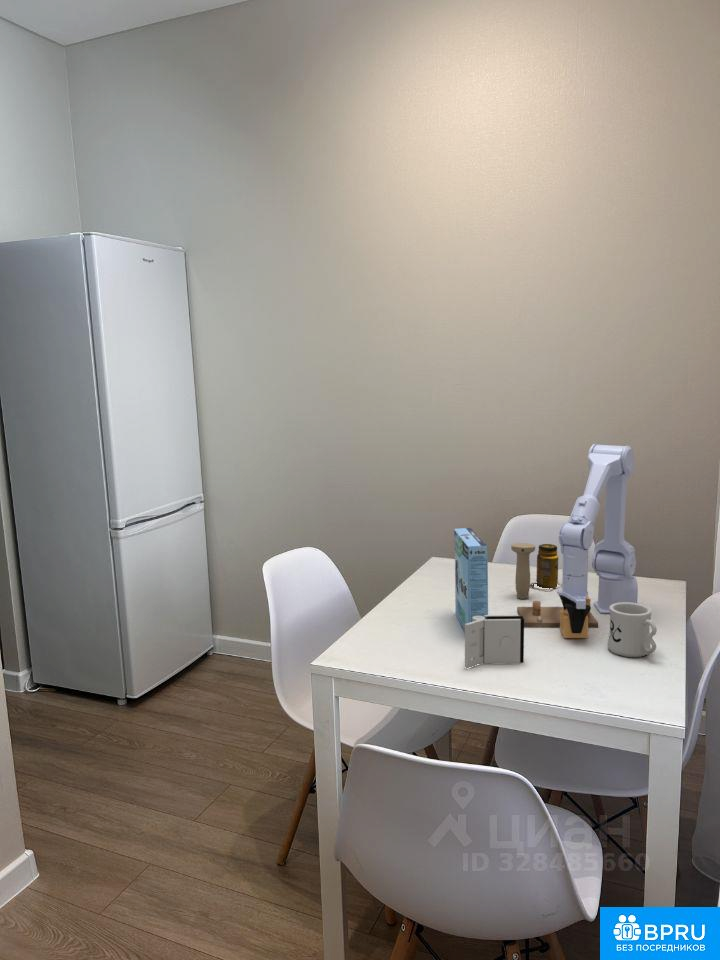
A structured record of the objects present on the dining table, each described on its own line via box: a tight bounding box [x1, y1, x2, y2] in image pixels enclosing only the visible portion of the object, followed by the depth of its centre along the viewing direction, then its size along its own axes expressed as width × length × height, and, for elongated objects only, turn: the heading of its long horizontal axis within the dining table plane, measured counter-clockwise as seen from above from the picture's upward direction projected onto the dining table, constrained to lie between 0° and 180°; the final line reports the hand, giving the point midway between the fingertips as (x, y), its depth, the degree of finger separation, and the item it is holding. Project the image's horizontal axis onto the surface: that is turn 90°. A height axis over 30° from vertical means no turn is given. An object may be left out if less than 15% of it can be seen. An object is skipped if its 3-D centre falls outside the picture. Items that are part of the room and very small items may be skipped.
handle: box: [510, 542, 536, 600], centre depth 205 cm, size 5×6×15 cm
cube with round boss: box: [559, 608, 589, 639], centre depth 178 cm, size 5×5×6 cm
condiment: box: [530, 543, 562, 592], centre depth 216 cm, size 7×8×12 cm
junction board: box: [516, 595, 599, 629], centre depth 189 cm, size 18×12×7 cm, turn 86°
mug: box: [607, 602, 658, 658], centre depth 166 cm, size 12×9×10 cm
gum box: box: [453, 527, 489, 632], centre depth 184 cm, size 20×5×23 cm, turn 2°
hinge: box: [464, 614, 525, 668], centre depth 163 cm, size 14×5×10 cm, turn 101°
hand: (573, 628), depth 178 cm, fingers closed on cube with round boss, 5 cm apart
